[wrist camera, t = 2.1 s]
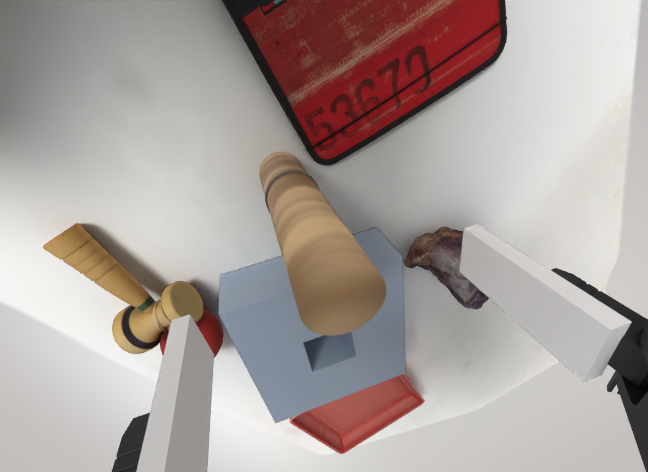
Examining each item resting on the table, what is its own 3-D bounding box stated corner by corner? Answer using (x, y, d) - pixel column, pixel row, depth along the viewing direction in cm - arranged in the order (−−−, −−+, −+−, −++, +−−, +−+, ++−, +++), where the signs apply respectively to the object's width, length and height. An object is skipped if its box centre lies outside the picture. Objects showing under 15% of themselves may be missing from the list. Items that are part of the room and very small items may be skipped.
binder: (206, -24, 18) (496, -224, 18) (207, -17, 20) (469, -198, 20) (323, 177, 28) (514, 52, 27) (316, 169, 30) (495, 52, 29)
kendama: (38, 251, 27) (184, 360, 34) (-8, 280, 21) (178, 403, 29) (111, 199, 27) (237, 317, 35) (86, 213, 22) (242, 351, 30)
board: (219, 274, 31) (218, 314, 26) (376, 227, 34) (402, 255, 29) (269, 380, 42) (275, 423, 37) (385, 338, 45) (405, 373, 40)
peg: (252, 157, 26) (285, 281, 11) (297, 146, 27) (385, 249, 12) (265, 199, 29) (307, 348, 14) (307, 188, 29) (390, 319, 14)
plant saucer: (381, 339, 45) (391, 357, 42) (416, 386, 55) (426, 403, 52) (283, 400, 46) (287, 422, 43) (335, 436, 56) (341, 455, 53)
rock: (428, 283, 43) (483, 235, 41) (470, 330, 37) (538, 277, 35) (389, 251, 36) (454, 190, 33) (434, 304, 29) (518, 234, 27)
